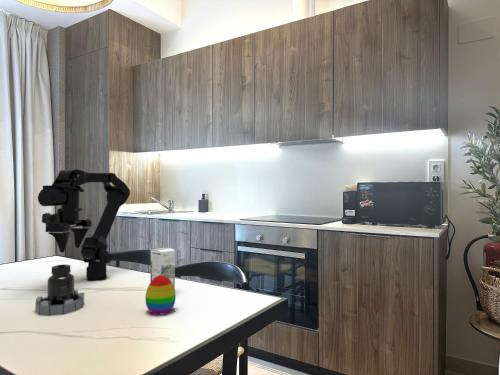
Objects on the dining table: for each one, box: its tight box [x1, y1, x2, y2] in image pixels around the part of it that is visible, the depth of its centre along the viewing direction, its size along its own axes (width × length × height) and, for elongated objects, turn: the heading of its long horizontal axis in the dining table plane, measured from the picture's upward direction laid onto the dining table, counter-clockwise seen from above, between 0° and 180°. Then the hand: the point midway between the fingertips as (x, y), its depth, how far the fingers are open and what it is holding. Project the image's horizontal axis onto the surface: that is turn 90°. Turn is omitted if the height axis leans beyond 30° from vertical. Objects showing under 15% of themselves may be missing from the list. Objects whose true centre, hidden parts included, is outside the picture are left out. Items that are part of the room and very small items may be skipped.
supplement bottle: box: [46, 264, 75, 305], centre depth 101 cm, size 7×7×12 cm
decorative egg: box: [144, 275, 177, 315], centre depth 98 cm, size 8×8×10 cm
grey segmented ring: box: [34, 289, 85, 317], centre depth 100 cm, size 12×12×4 cm
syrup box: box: [149, 247, 176, 290], centre depth 114 cm, size 6×6×14 cm
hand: (69, 249), depth 122 cm, fingers open, 9 cm apart
